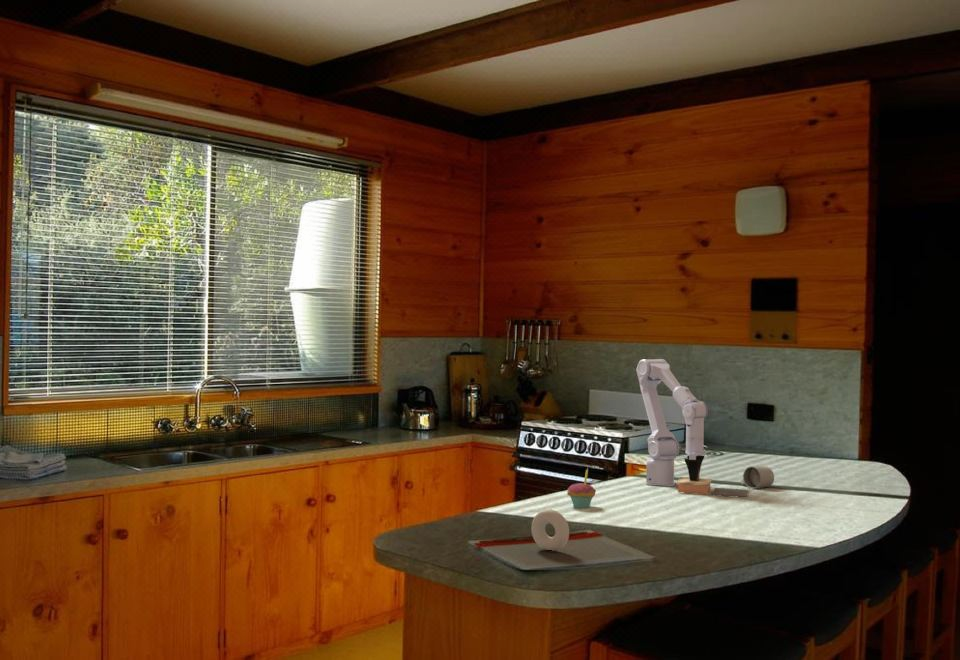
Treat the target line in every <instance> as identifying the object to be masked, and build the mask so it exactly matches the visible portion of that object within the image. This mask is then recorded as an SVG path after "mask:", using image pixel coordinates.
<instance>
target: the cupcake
mask: <svg viewBox="0 0 960 660" xmlns="http://www.w3.org/2000/svg"><path fill="white" fill-rule="evenodd" d="M588 473H589V467H587V469H586V470H585V474H584V475H585V476H584V480H583V482H579V483H578V482H577V483H572V484H571V485H570V486H569V487H567V490H566V491H567V493H566V494H567V495H568V496H569V497H570V499H571V502H572V506H573V507H574V508H577V509H588V508H589V507H591V506H590V505H591V503H592V500H593V498H594V497H595V496H596V491H597V490H596V489H595V487H593V486H592V485H590V484H588V483H587V481H588V480H587V479H588Z"/></svg>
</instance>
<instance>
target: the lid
mask: <svg viewBox="0 0 960 660" xmlns="http://www.w3.org/2000/svg"><path fill="white" fill-rule="evenodd" d="M678 484H687V485H703V486H709V485H710V486H711V484H712V478H702V477H701V478H700V474H699V471H698V477H697V480H696V481H694V480H690V478H689V477H683V476H682V477H681V476H680V477H679V478H678V480H677V481H676V485H678Z"/></svg>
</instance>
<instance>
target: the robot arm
mask: <svg viewBox="0 0 960 660" xmlns="http://www.w3.org/2000/svg"><path fill="white" fill-rule="evenodd" d="M670 369H671V366H670V364H669V363H668V362H667V360H666V359H664V358H659V359H644V358H643V359H640V360H639V362H638V363H637V367H636V368H635V370H636V375H637V378H638V383H639V388H640V393H641V395H642V399H643V403H644V408H645V411H646V415H647V418H648V422H649V427H650V430H651V434H650V435H649V436H648V438H647V439H646V441H647V444H648V447H647V451H648V454H649V456H650V458H647V459H646V465H645V466H646V467H645V468H646V469H645V471H646V473H645V475H646V476H645V478H646V481H645V482H646V483H645V484H646V485H648V486H649V485H650V486H665V487H675V485H677V481H675V460H676V458H677V456H678V455H679V453H680V444H679V442H678V441H677V439H676V436H675V434H674V433H673V432H671V431H670V430H669V429H668V427H667V423H666V419H665V416H664V413H663V408H662V405H661V400H660V397H659V394H658V389H657V386H658V385H659V384H661V382H663V384H664V385H665V386H666V387H667V388H668V389H669V391H671V392H672V398H673V400H674V401H675V403H677V405H678V406H680V408H681V412H682V416H683V418H684V425H685V452H684V453H685V454H686V455H687V457H685V458H684V462H685V465H686V467H687V471H688V478H690V480H694V481H696V480H697V477H698V471H699V475H700V472H701V468H702V464H703V460H704V459H705V455H707V454H708V451H705V450H704V446H705V445H704V444H705V443H704V433H705V432H704V428H705V427H704V425H705V423H704V422H705V418H706V417H707V416H708V412H709V411H708V406H707V405H706V403H705V402H704V401H703V400H702V401H701V400H699V399H697V397H695V395H693V393H692V392H691V391H690V388H689V387H688V386H685V385H681V383H679V380H677V378H676V377H675V375H674V374H673V372H672V371H671V370H670Z"/></svg>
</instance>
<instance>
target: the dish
mask: <svg viewBox="0 0 960 660" xmlns="http://www.w3.org/2000/svg"><path fill="white" fill-rule="evenodd" d="M709 491H710V492H711V484H710V485H709V486H703V485H687V484H677V493H678V492H684V493H683V494H689V493H697V494H696V495H704V494H708V493H710V492H709ZM708 495H709V494H708Z"/></svg>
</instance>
